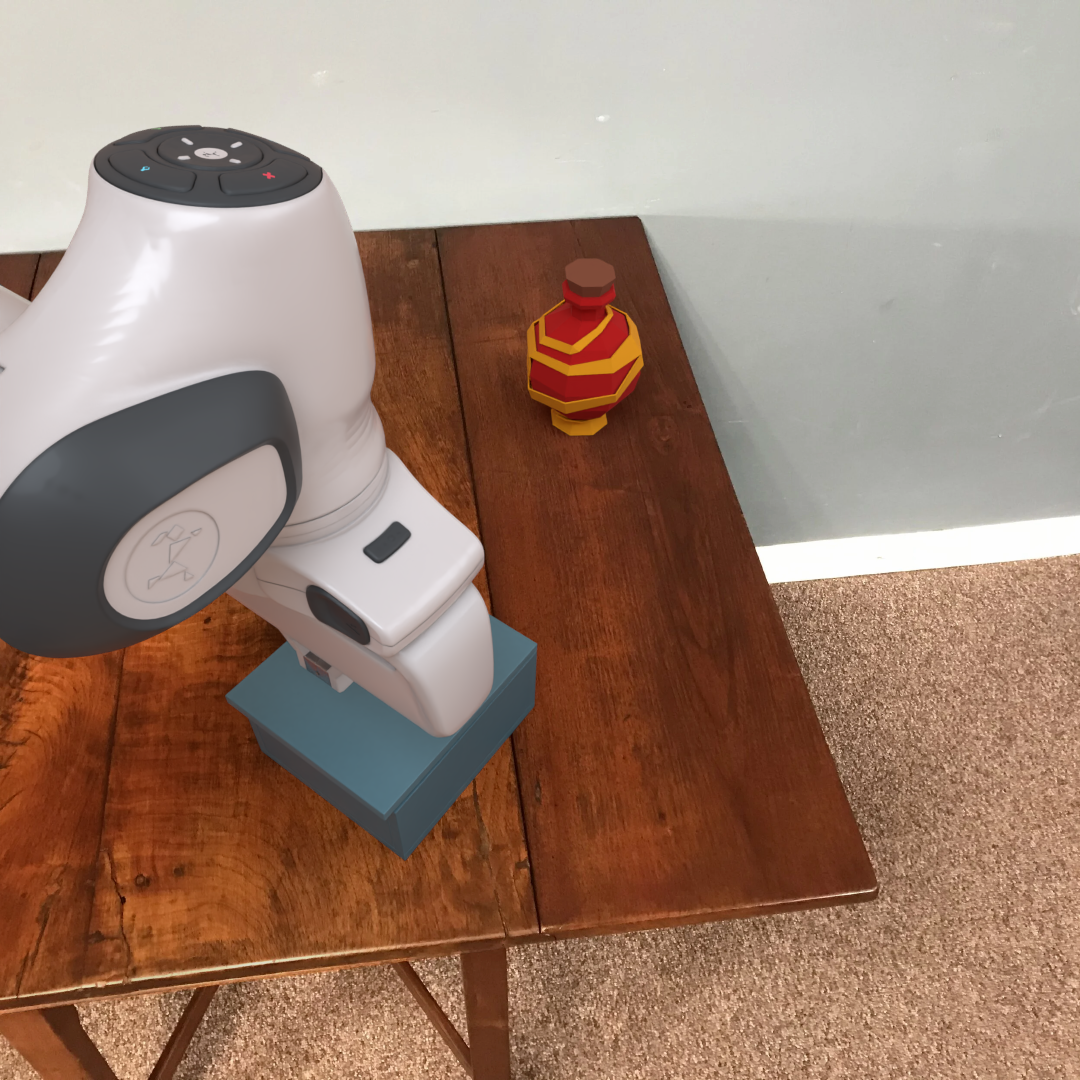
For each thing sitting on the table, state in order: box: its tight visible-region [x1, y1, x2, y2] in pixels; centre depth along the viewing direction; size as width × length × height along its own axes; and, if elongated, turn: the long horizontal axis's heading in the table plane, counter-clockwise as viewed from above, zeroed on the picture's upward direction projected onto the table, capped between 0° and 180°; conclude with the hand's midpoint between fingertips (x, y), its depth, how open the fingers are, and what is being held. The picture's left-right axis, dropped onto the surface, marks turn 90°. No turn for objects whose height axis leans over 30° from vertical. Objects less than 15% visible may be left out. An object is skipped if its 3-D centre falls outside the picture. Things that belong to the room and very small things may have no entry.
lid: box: [224, 613, 538, 820], centre depth 58 cm, size 14×13×1 cm
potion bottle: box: [526, 257, 645, 437], centre depth 79 cm, size 10×10×15 cm
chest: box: [247, 650, 538, 861], centre depth 61 cm, size 14×13×7 cm
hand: (331, 671), depth 52 cm, fingers closed
